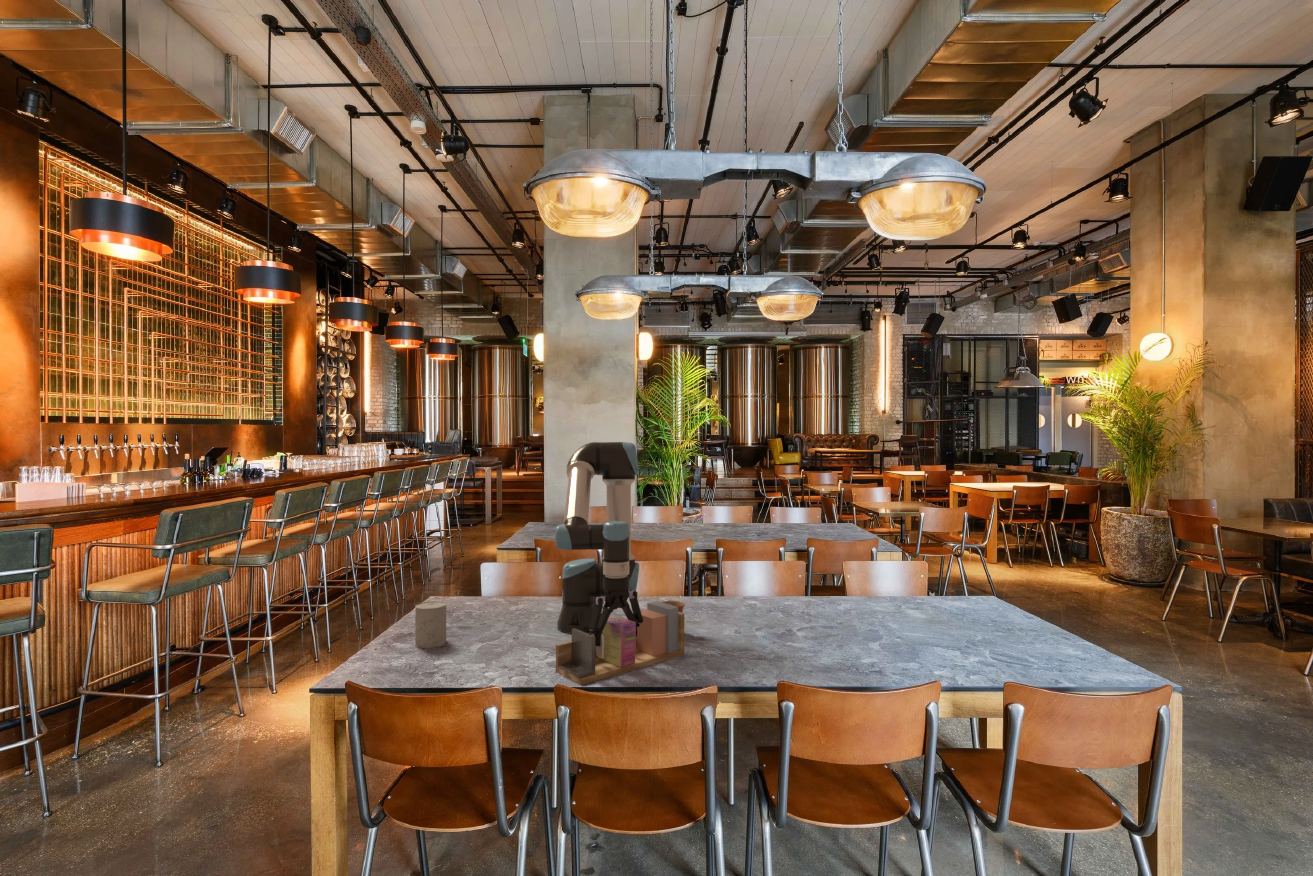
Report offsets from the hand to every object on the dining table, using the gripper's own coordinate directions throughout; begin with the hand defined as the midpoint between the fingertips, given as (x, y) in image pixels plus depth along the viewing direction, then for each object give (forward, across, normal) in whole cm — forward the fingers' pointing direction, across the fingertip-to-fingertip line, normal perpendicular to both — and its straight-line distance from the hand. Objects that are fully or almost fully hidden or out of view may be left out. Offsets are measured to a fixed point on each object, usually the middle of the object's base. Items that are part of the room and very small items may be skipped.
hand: (616, 652), depth 179 cm
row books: (+2, +15, +1) cm, 15 cm away
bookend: (+2, -13, 0) cm, 13 cm away
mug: (+4, +31, +12) cm, 33 cm away
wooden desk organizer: (+4, +3, +1) cm, 5 cm away
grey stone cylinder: (+4, -33, +56) cm, 65 cm away
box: (+3, 0, 0) cm, 3 cm away
